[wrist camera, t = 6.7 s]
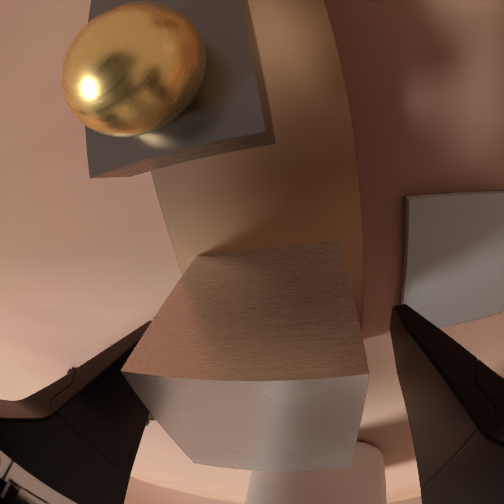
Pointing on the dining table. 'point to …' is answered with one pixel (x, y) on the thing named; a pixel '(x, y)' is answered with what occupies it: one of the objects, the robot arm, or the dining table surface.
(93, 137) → the lever
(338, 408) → the cap block
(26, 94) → the dining table surface
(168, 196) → the plane body
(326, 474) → the cylinder vase
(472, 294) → the rubber mat
